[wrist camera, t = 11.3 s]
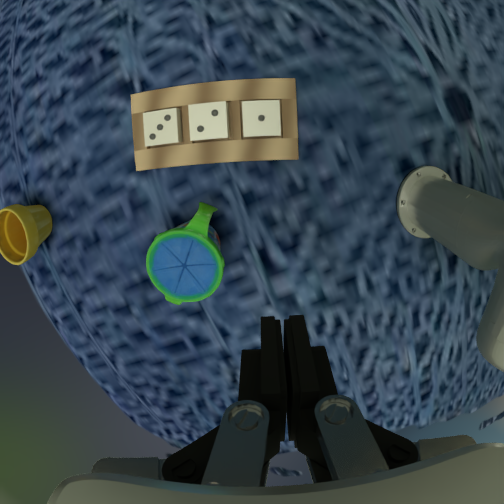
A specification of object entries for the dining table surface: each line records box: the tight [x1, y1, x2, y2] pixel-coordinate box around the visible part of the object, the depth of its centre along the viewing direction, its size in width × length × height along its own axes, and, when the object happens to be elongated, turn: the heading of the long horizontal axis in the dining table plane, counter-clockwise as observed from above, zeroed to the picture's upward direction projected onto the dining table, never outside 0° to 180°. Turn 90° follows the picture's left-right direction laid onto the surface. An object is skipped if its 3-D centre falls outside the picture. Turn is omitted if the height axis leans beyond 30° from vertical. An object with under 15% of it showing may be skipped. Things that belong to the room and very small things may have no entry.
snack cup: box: [146, 202, 225, 305], centre depth 43 cm, size 16×10×10 cm
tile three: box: [143, 108, 183, 147], centre depth 38 cm, size 5×5×3 cm
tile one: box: [242, 100, 281, 137], centre depth 38 cm, size 5×5×3 cm
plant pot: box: [0, 204, 52, 265], centre depth 42 cm, size 10×10×10 cm
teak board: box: [131, 78, 298, 171], centre depth 39 cm, size 24×12×2 cm, turn 93°
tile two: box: [188, 101, 230, 141], centre depth 37 cm, size 5×5×3 cm
